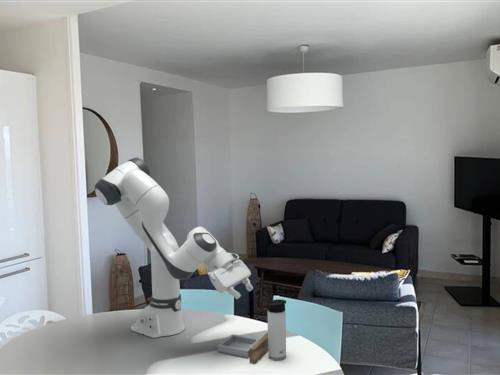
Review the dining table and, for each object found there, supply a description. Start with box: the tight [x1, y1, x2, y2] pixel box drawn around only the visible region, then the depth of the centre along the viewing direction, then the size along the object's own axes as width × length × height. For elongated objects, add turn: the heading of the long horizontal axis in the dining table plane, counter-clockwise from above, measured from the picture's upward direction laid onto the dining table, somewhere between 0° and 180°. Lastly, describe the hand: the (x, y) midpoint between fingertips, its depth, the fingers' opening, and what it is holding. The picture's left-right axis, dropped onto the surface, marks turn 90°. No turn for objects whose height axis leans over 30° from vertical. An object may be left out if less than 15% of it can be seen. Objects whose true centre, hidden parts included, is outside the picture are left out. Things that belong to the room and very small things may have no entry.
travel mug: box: [266, 299, 287, 361], centre depth 154 cm, size 6×7×20 cm
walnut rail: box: [249, 331, 268, 365], centre depth 158 cm, size 2×18×5 cm, turn 154°
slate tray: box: [217, 333, 260, 359], centre depth 161 cm, size 12×11×3 cm
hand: (245, 293), depth 158 cm, fingers open, 8 cm apart
